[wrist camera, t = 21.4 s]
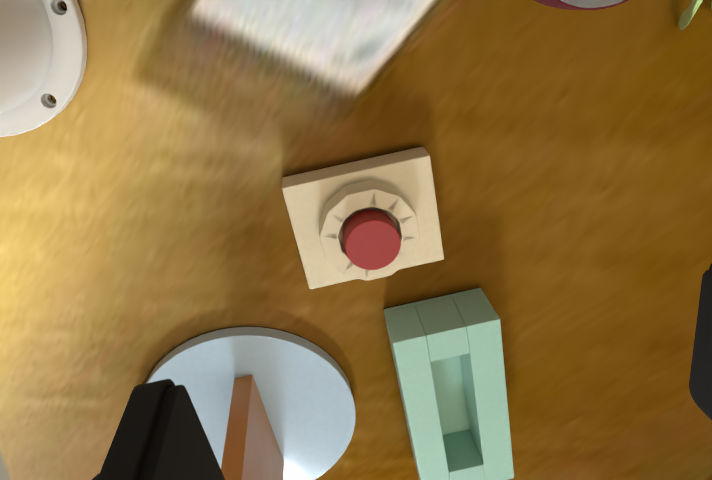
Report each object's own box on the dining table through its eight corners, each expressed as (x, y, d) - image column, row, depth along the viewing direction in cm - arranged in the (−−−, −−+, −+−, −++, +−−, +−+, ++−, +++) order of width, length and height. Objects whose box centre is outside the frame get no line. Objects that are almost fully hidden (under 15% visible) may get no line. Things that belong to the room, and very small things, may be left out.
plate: (182, 505, 50) (179, 517, 49) (105, 354, 42) (100, 364, 41) (370, 463, 50) (372, 473, 49) (329, 304, 42) (331, 313, 41)
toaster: (413, 457, 50) (424, 498, 46) (383, 309, 43) (392, 343, 39) (496, 438, 50) (514, 478, 46) (480, 287, 43) (500, 318, 39)
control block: (308, 274, 41) (310, 303, 37) (282, 177, 37) (281, 198, 33) (437, 246, 41) (450, 271, 37) (422, 145, 37) (436, 163, 34)
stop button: (348, 263, 36) (351, 276, 35) (337, 216, 35) (339, 227, 33) (400, 251, 36) (404, 263, 35) (391, 204, 35) (396, 214, 33)
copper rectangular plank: (267, 464, 47) (260, 592, 37) (234, 378, 43) (216, 497, 33) (284, 460, 47) (281, 587, 37) (252, 374, 43) (240, 491, 33)
